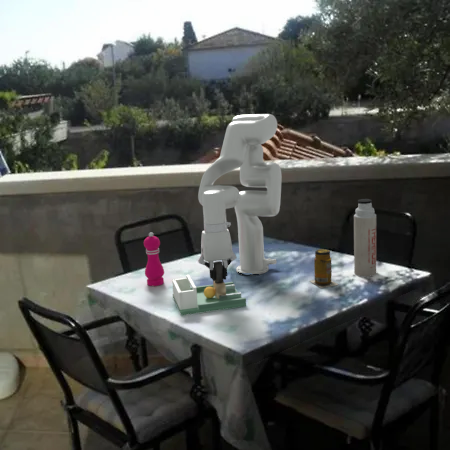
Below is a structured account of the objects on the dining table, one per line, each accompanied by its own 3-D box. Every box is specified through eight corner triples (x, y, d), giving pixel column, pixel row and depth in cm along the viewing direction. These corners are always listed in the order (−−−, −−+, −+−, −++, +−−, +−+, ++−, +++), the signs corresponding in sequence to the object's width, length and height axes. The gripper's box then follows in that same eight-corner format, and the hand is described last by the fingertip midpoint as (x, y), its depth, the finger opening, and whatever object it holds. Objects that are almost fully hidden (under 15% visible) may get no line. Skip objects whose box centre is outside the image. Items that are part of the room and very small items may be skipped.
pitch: (233, 288, 228) (232, 281, 227) (246, 306, 211) (245, 298, 210) (172, 297, 224) (172, 289, 223) (181, 315, 207) (180, 307, 206)
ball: (214, 294, 219) (213, 284, 218) (217, 298, 216) (215, 287, 215) (203, 297, 219) (202, 286, 218) (205, 300, 215) (204, 289, 214)
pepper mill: (162, 286, 235) (157, 234, 230) (143, 286, 236) (138, 235, 231) (167, 280, 242) (163, 229, 237) (149, 280, 243) (144, 229, 238)
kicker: (222, 292, 221) (220, 259, 218) (226, 298, 215) (224, 264, 212) (213, 293, 220) (211, 260, 217) (217, 299, 215) (215, 265, 212)
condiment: (327, 278, 233) (326, 247, 230) (338, 285, 226) (338, 252, 223) (309, 281, 231) (308, 250, 228) (320, 288, 223) (319, 256, 220)
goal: (190, 293, 223) (188, 274, 221) (197, 307, 209) (196, 287, 208) (173, 295, 221) (171, 276, 220) (179, 309, 208) (178, 289, 206)
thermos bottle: (380, 273, 234) (380, 199, 227) (363, 278, 231) (363, 203, 224) (366, 268, 241) (366, 196, 234) (349, 272, 237) (349, 199, 231)
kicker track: (234, 289, 224) (234, 284, 223) (241, 298, 215) (241, 293, 214) (213, 292, 222) (213, 287, 222) (219, 301, 213) (219, 296, 213)
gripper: (236, 221, 217) (239, 272, 222) (189, 227, 214) (193, 279, 218) (242, 226, 210) (244, 279, 215) (193, 232, 206) (197, 285, 211)
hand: (218, 278), depth 216 cm, fingers closed on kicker, 3 cm apart
